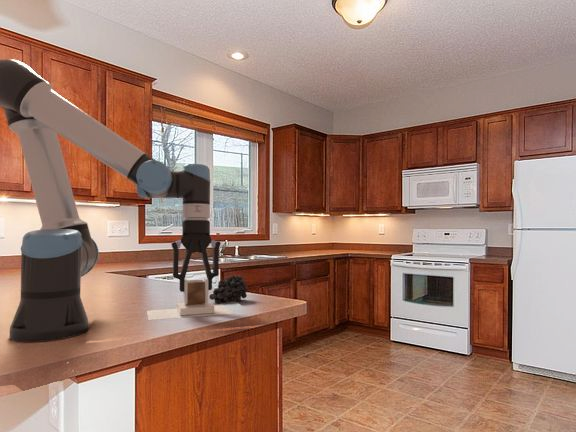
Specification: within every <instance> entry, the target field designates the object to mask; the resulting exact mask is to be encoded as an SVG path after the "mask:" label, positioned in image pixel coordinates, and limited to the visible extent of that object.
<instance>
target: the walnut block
mask: <svg viewBox="0 0 576 432" xmlns="http://www.w3.org/2000/svg"><path fill="white" fill-rule="evenodd" d="M187 280H188V279H187ZM203 303H205V282H204V279H191V280H190V279H189V280H188V289H187V305H189V304H203Z"/></svg>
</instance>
